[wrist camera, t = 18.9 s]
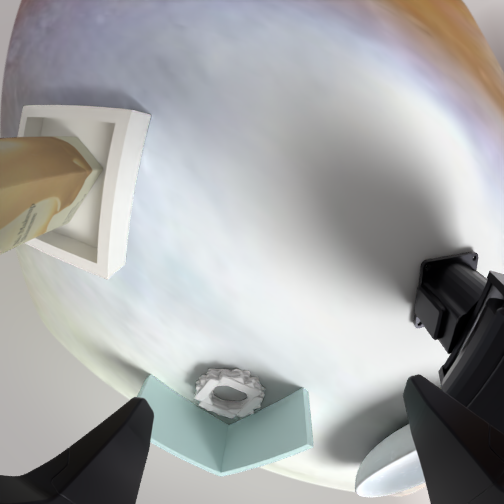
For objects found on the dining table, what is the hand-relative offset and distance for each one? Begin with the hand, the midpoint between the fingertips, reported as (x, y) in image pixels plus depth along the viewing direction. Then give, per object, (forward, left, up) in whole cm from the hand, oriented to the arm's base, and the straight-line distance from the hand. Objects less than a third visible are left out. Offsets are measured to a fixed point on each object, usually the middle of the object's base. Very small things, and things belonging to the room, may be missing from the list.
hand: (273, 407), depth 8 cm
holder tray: (+15, -9, -13) cm, 22 cm away
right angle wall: (+7, +13, -14) cm, 20 cm away
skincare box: (+15, -9, -12) cm, 21 cm away
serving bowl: (-18, +31, -13) cm, 38 cm away
